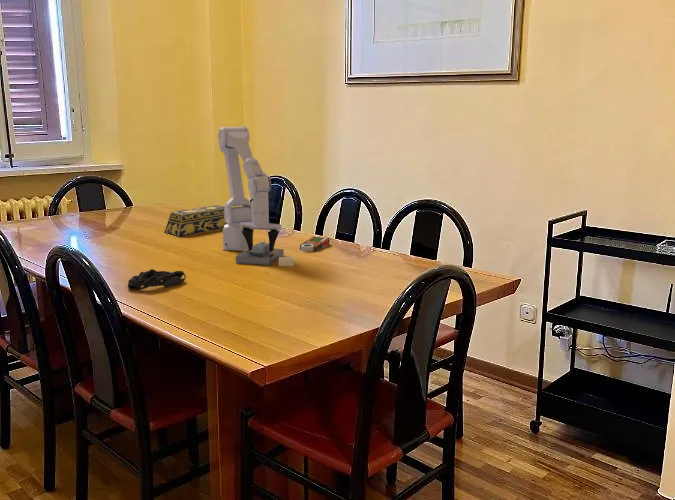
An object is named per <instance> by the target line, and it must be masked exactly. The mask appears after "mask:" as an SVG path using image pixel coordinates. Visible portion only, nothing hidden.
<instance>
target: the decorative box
mask: <svg viewBox="0 0 675 500" xmlns="http://www.w3.org/2000/svg"><path fill="white" fill-rule="evenodd" d="M226 224H227V223H226V221H225V218H224V206H223V205H217V204H214V205H209V206H201V207H200V206H199V207H194V208H188V209H187V208H186V209H182V210H174V211H170V214H169V217H168V220H167V222H166V226H165V229H164V231H163V234H164V233H166V234H165V235H168V234H170V235H169V236H171V235H173V236H172V237H175V236H176V238H181V237H182V236H183V237H188V236H187V235H189V236H193V235H192V234H194V235H198V234H197V233H199V234H203V233H202V232H205V233H208V232H207V231H210V232H213V231H212V230H216V231H219V230H218V229H221V230H223V228H224V226H225V225H226ZM183 237H182V238H183Z"/></svg>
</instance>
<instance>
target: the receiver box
mask: <svg viewBox="0 0 675 500" xmlns="http://www.w3.org/2000/svg"><path fill="white" fill-rule="evenodd" d="M278 266H279V267H294V266H295V257H294V256H283V257H279V259H278Z"/></svg>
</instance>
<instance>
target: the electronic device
mask: <svg viewBox="0 0 675 500" xmlns="http://www.w3.org/2000/svg"><path fill="white" fill-rule="evenodd" d="M328 245H330V237H322V236H312V237H310V238H309V239H307V240H306V241H303V242H302V243H300V244H299V250H301V252H305V253H309V252H318V251H320V250H322V249H324V248H326V247H327V246H328Z"/></svg>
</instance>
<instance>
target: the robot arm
mask: <svg viewBox="0 0 675 500" xmlns="http://www.w3.org/2000/svg"><path fill="white" fill-rule="evenodd" d="M217 138H218V145H219V150H220V152H222V153H223V155H224V160H225V167H226V174H227V180H228V188H229V195H230V199H228V200H227V202H226V203H225V204H224V218H225V221H226V223H227V224H226V225H225V226H224V228H223V229H222V245H223V247H222V250H223V251H237V252H238V251H239V252H240V251H241V252H244V251H245V250H247V249H248V248H249V250H252V246H254V245H255V244H254V238H253V237H254V230H260V231H261V230H262V231H268V232H267V236H268V243H269V250H270V252H272V251H273V250H274V248H275V244H276V240H277V238H278V237H279V236H278V235H279V233H280V231H282V224H279V223H271V222H270V219H269V218H270V217H269V214H270V213H269V212H270V211H269V192H270V191H271V189H272V181H271V180H272V179H271V178H270V176H269V175H267V173H265V172H264V171H263V168H262V167H261V164H260V162H259V160H258V159H257V158H254V157H253V154H252V153H253V152H252V151H251V147H250V144H249V142H250V131H249V128H248V127H247V126H245V125H243V126H228V127H226V126H221V127H220V128H219V131H218V133H217ZM239 156H240V157H239ZM240 158H241V160H242V162H243V163H242V169H243V172H244V173H245V176H246V178H247V180H248V182H247V189H248V193H249V198H250V199H251V201H250V200H249V199H248V198H247V197H245V192H244V186H243V185H244V184H243V179H242V172H241V163H240Z"/></svg>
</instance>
